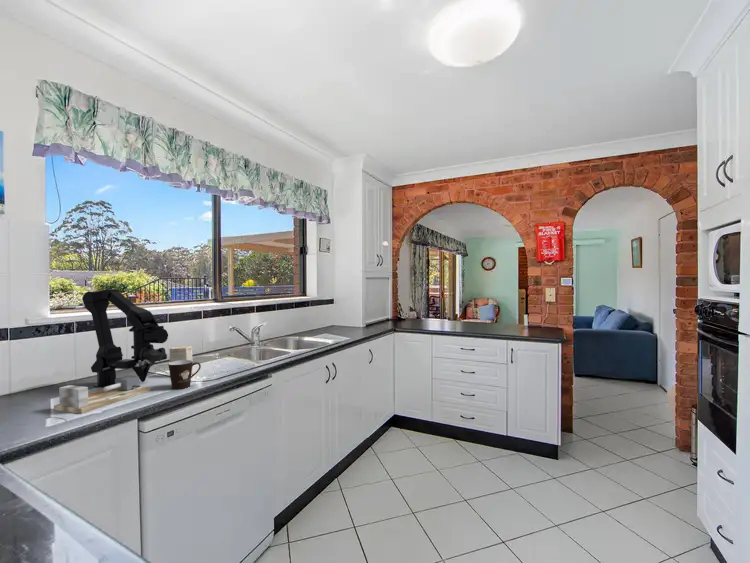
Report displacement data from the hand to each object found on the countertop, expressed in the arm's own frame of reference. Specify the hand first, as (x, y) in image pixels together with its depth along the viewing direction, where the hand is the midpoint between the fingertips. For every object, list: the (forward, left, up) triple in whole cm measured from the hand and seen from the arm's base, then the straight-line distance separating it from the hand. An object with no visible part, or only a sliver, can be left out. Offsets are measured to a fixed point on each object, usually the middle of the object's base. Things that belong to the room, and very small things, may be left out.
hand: (142, 381), depth 148 cm
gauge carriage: (+2, -10, -1) cm, 10 cm away
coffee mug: (+16, +5, -3) cm, 17 cm away
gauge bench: (0, -15, -2) cm, 15 cm away
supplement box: (+1, +18, -3) cm, 19 cm away
